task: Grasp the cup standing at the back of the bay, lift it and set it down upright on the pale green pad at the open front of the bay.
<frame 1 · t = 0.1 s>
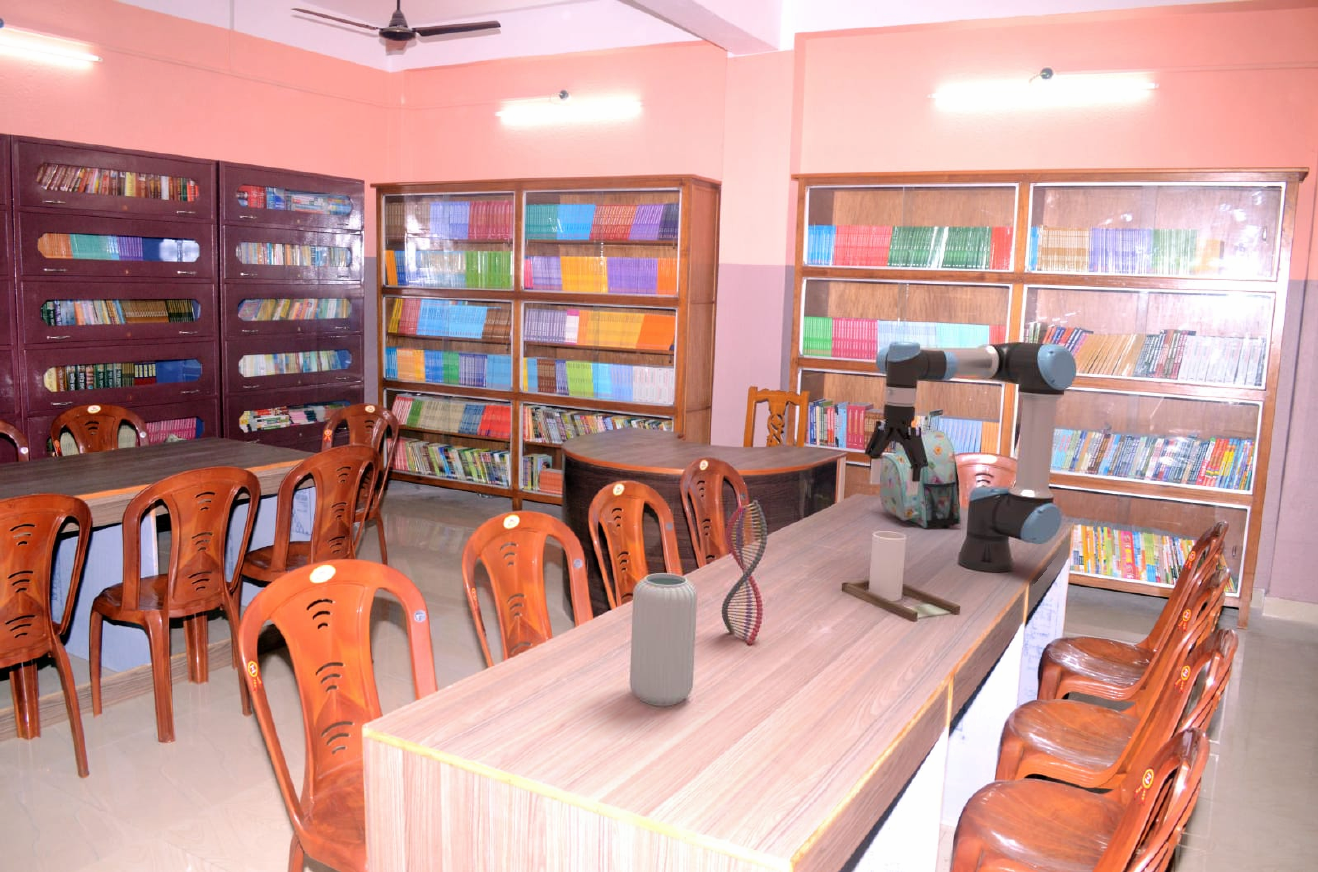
hand: (892, 489, 241), 28 cm above the table, fingers open, 13 cm apart
dna model: (740, 639, 209), on the table
vase: (660, 698, 176), on the table
backpack: (915, 522, 335), on the table
bay: (898, 601, 240), on the table
winch drum: (893, 585, 255), on the table
cup: (884, 596, 245), resting in bay
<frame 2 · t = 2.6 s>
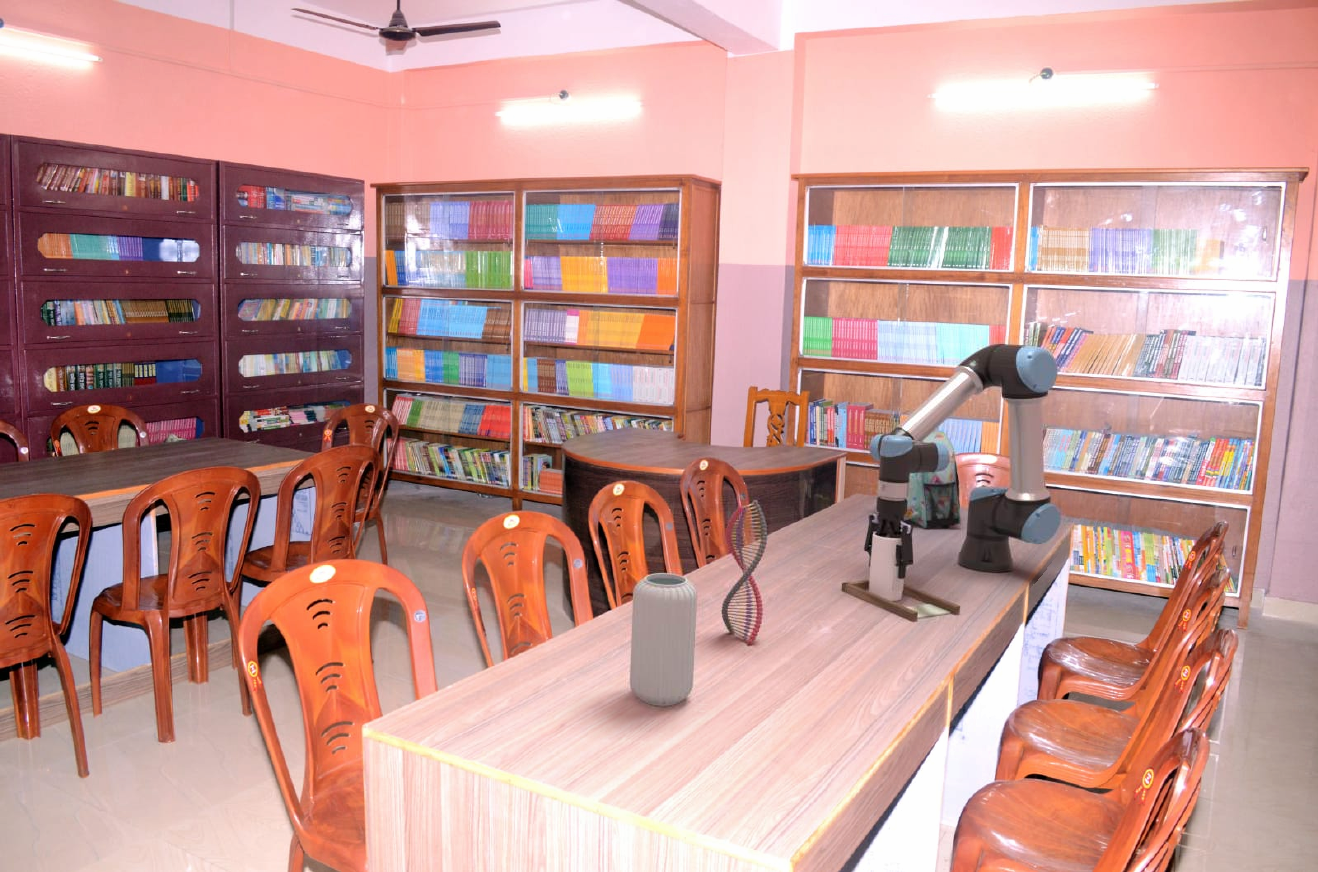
hand: (885, 585, 244), 3 cm above the table, fingers closed on cup, 8 cm apart
cup: (884, 596, 245), resting in bay, touching gripper
everything else where it was.
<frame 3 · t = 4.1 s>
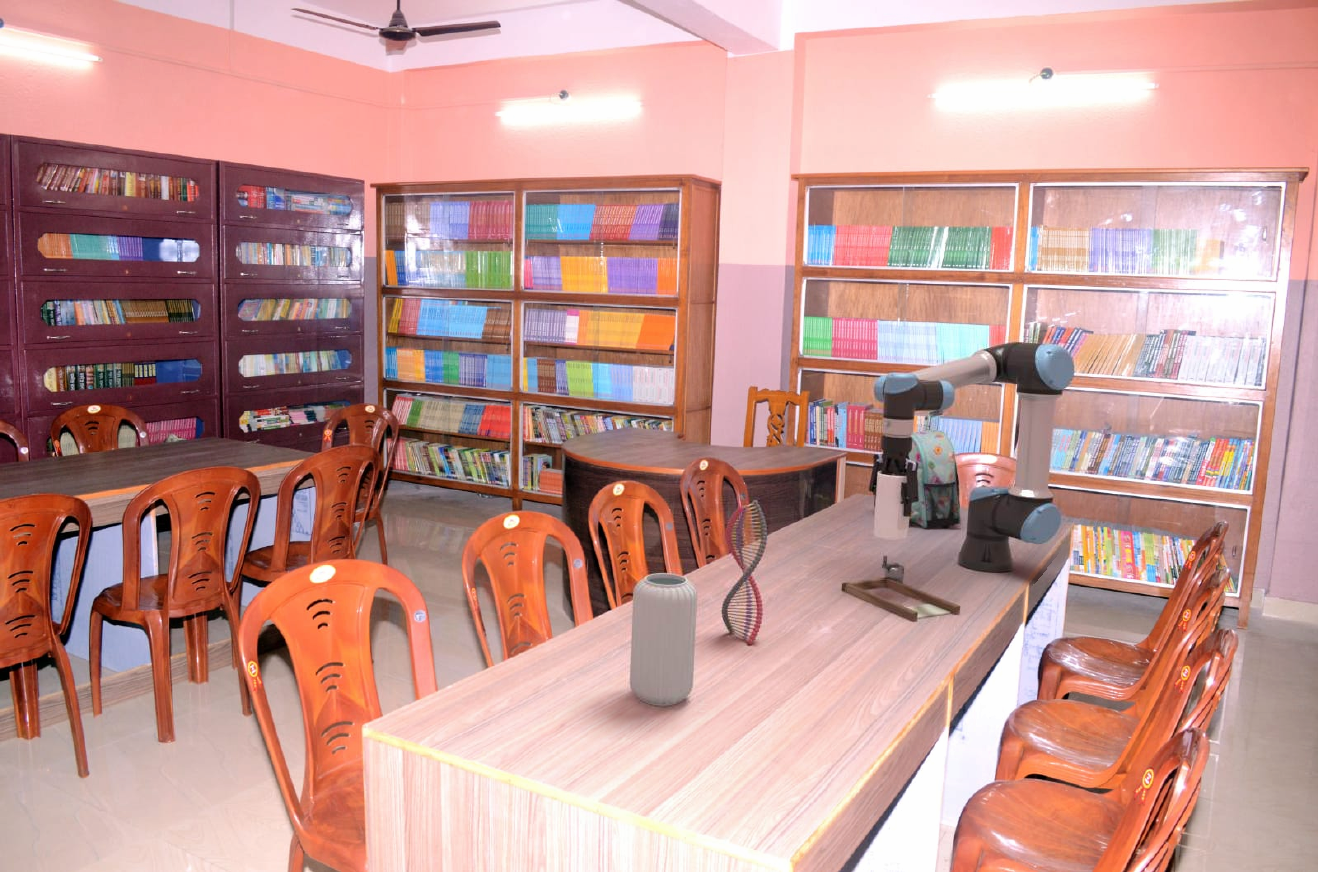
hand: (891, 524, 242), 18 cm above the table, fingers closed on cup, 8 cm apart
cup: (890, 536, 243), point 15 cm above the table, touching gripper
everything else where it was.
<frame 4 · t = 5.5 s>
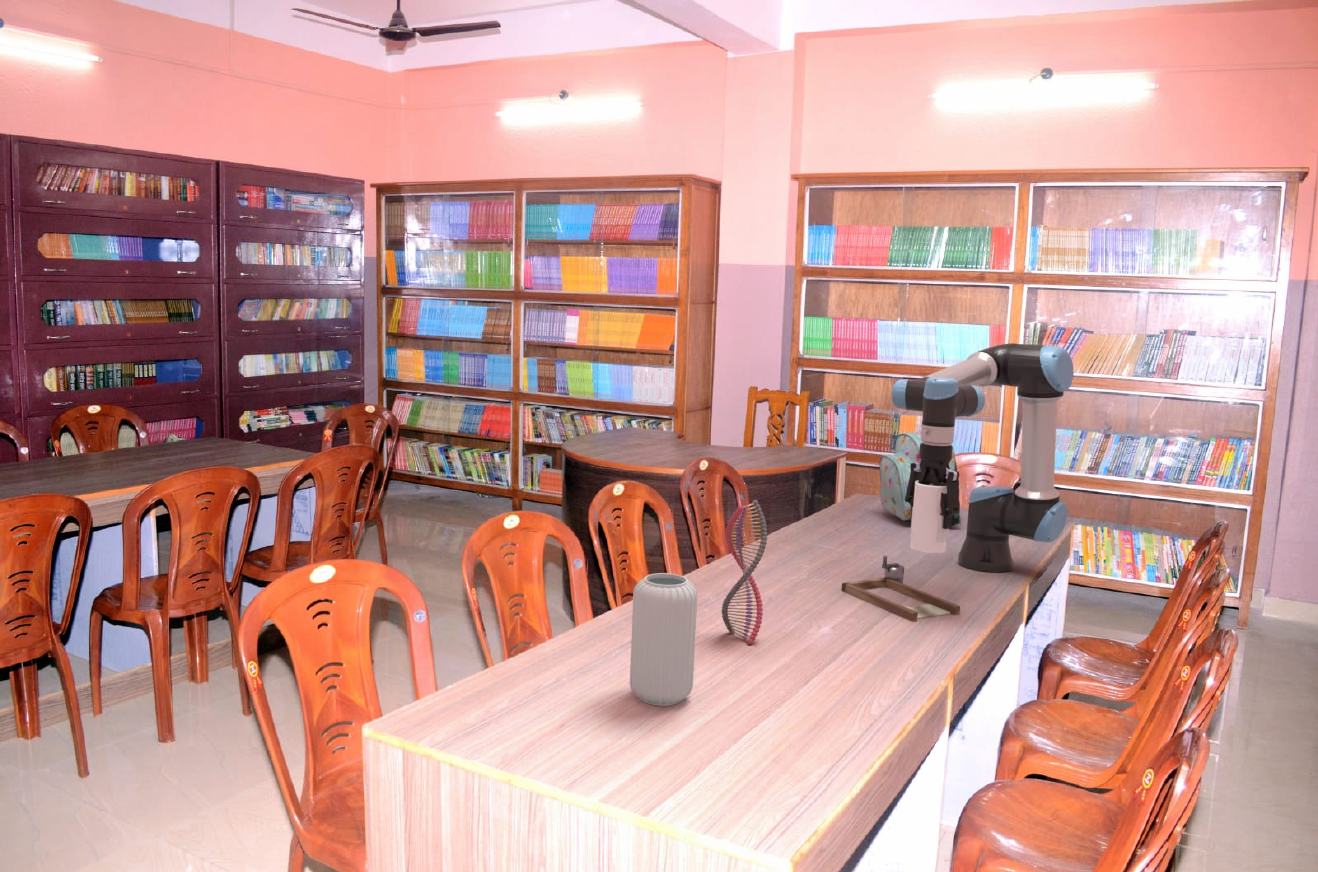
hand: (928, 537, 231), 18 cm above the table, fingers closed on cup, 8 cm apart
cup: (927, 549, 231), point 15 cm above the table, touching gripper
everything else where it was.
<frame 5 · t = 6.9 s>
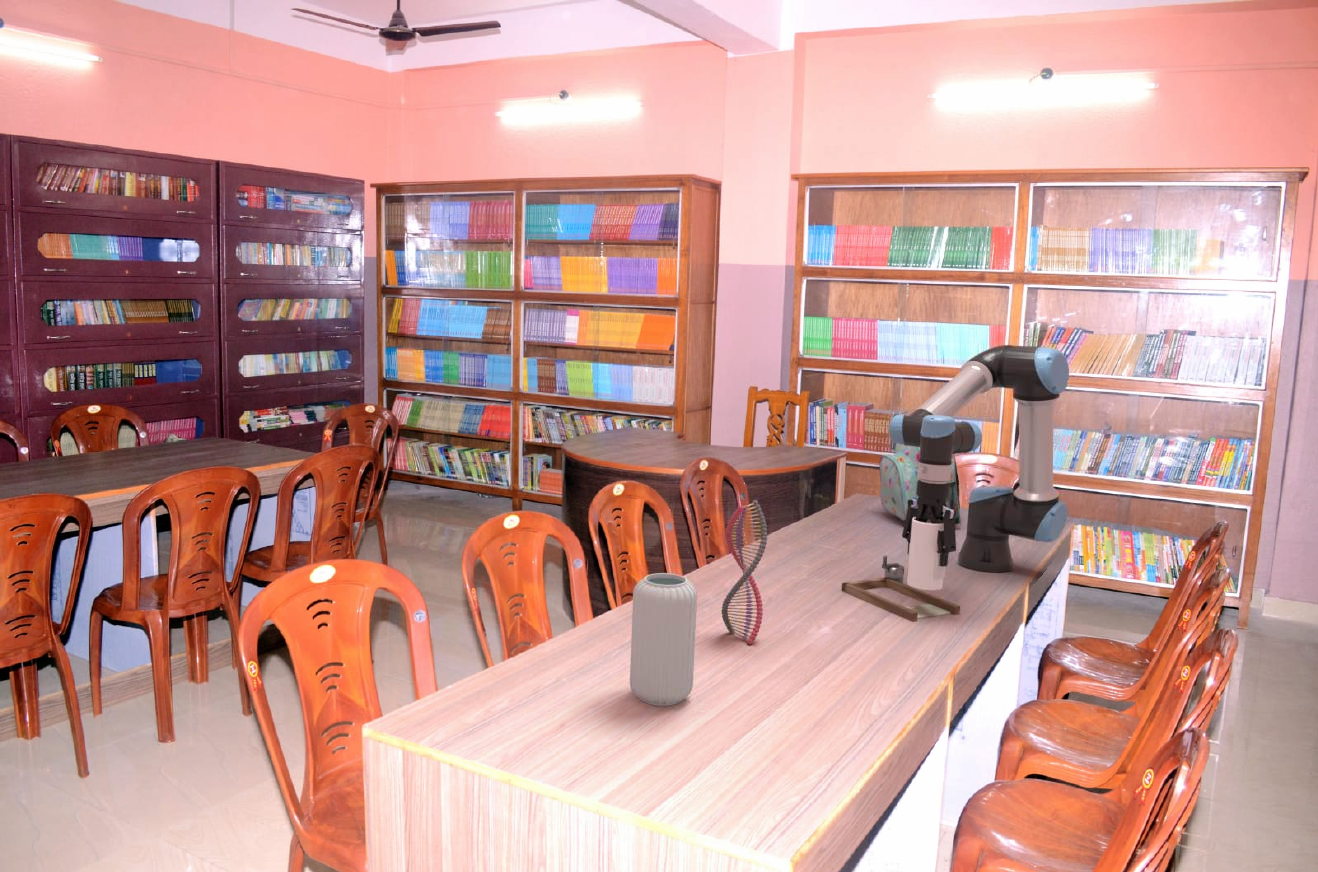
hand: (925, 573, 232), 10 cm above the table, fingers closed on cup, 8 cm apart
cup: (924, 586, 232), point 7 cm above the table, touching gripper
everything else where it was.
when the fingers open (5 cm above the table, at t = 8.2 s): cup drops 2 cm, resting on bay.
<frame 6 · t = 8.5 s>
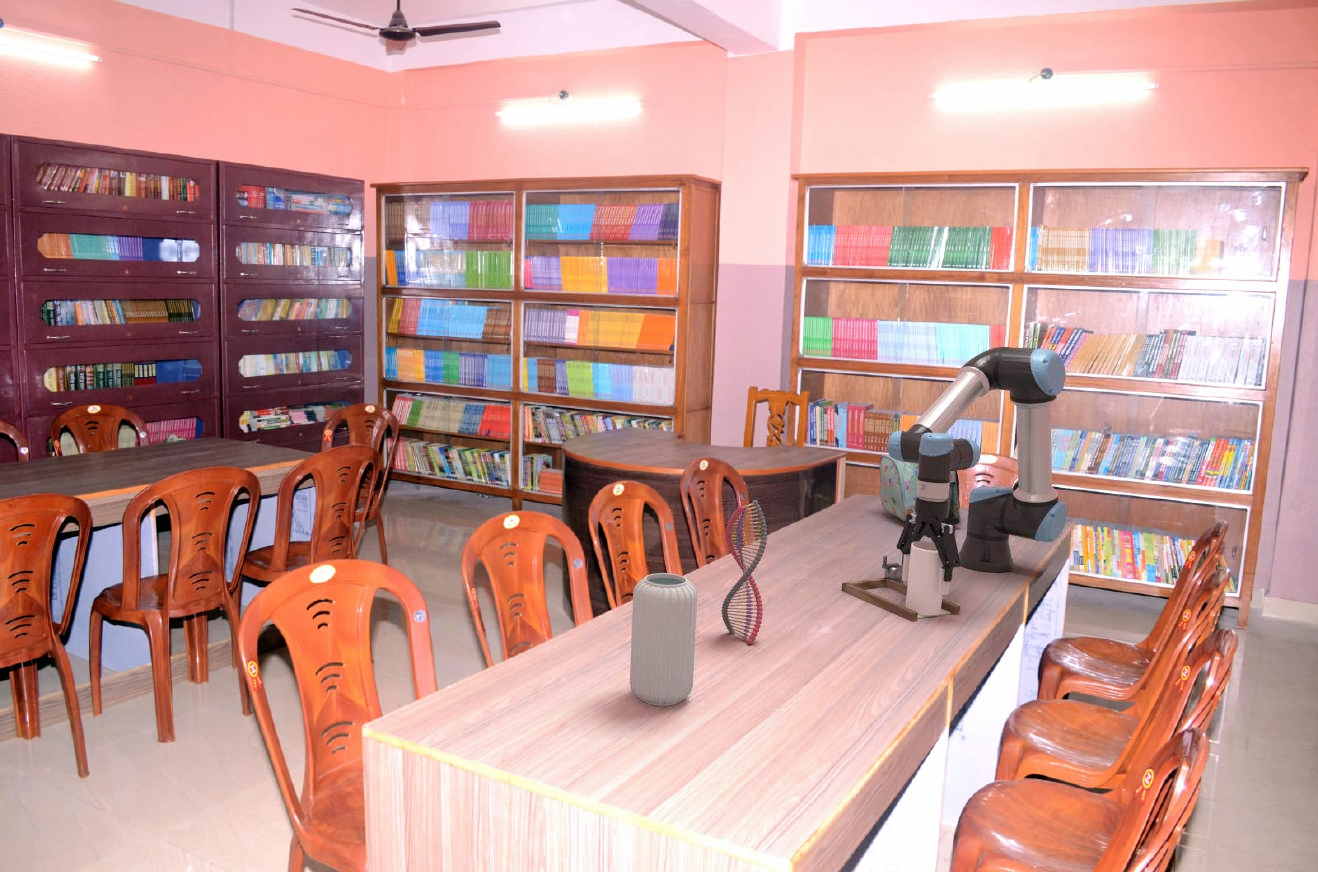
hand: (924, 587, 232), 6 cm above the table, fingers open, 11 cm apart
cup: (922, 610, 233), resting on bay
everything else where it was.
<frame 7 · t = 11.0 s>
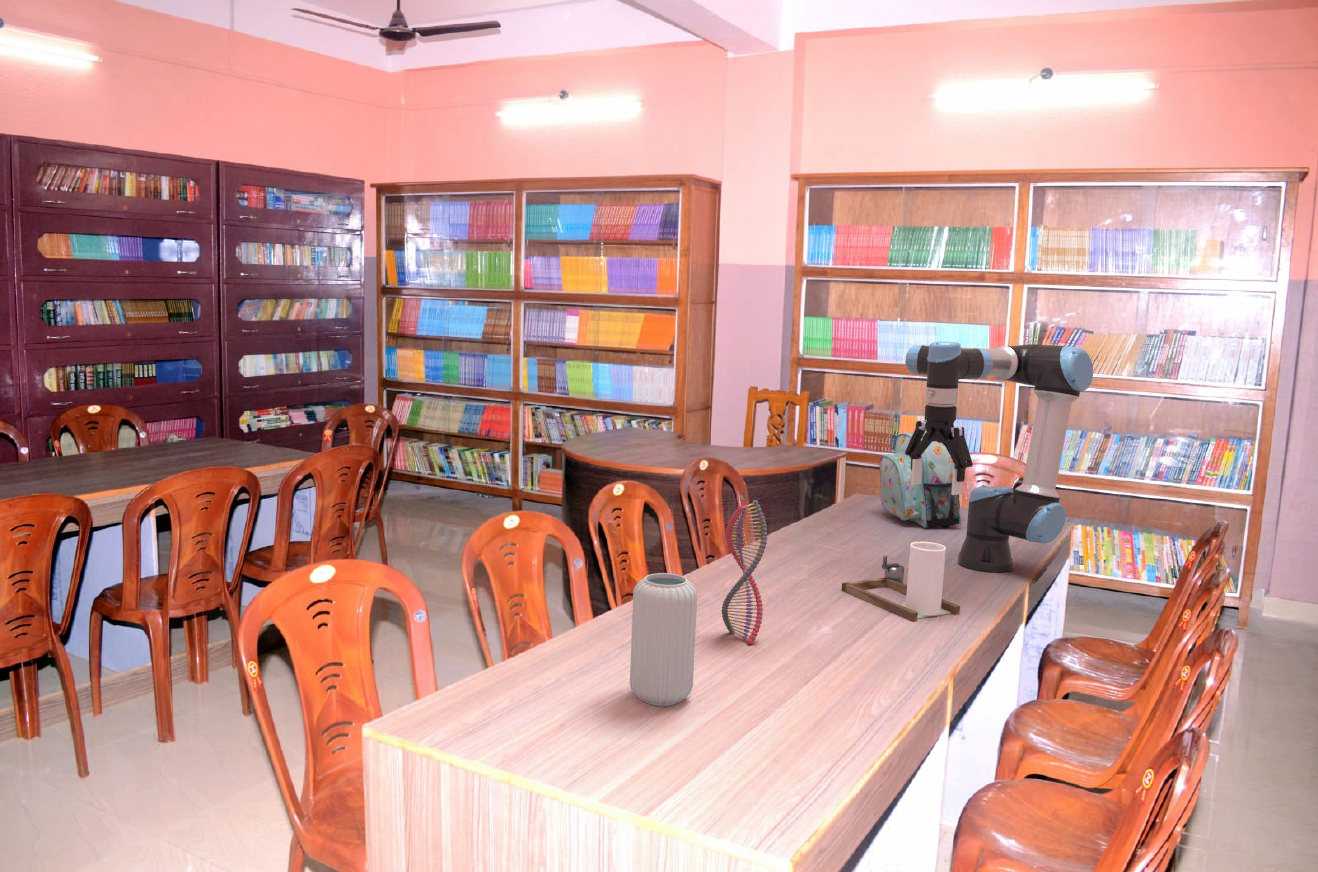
hand: (935, 489, 241), 28 cm above the table, fingers open, 13 cm apart
nothing on the table moved.
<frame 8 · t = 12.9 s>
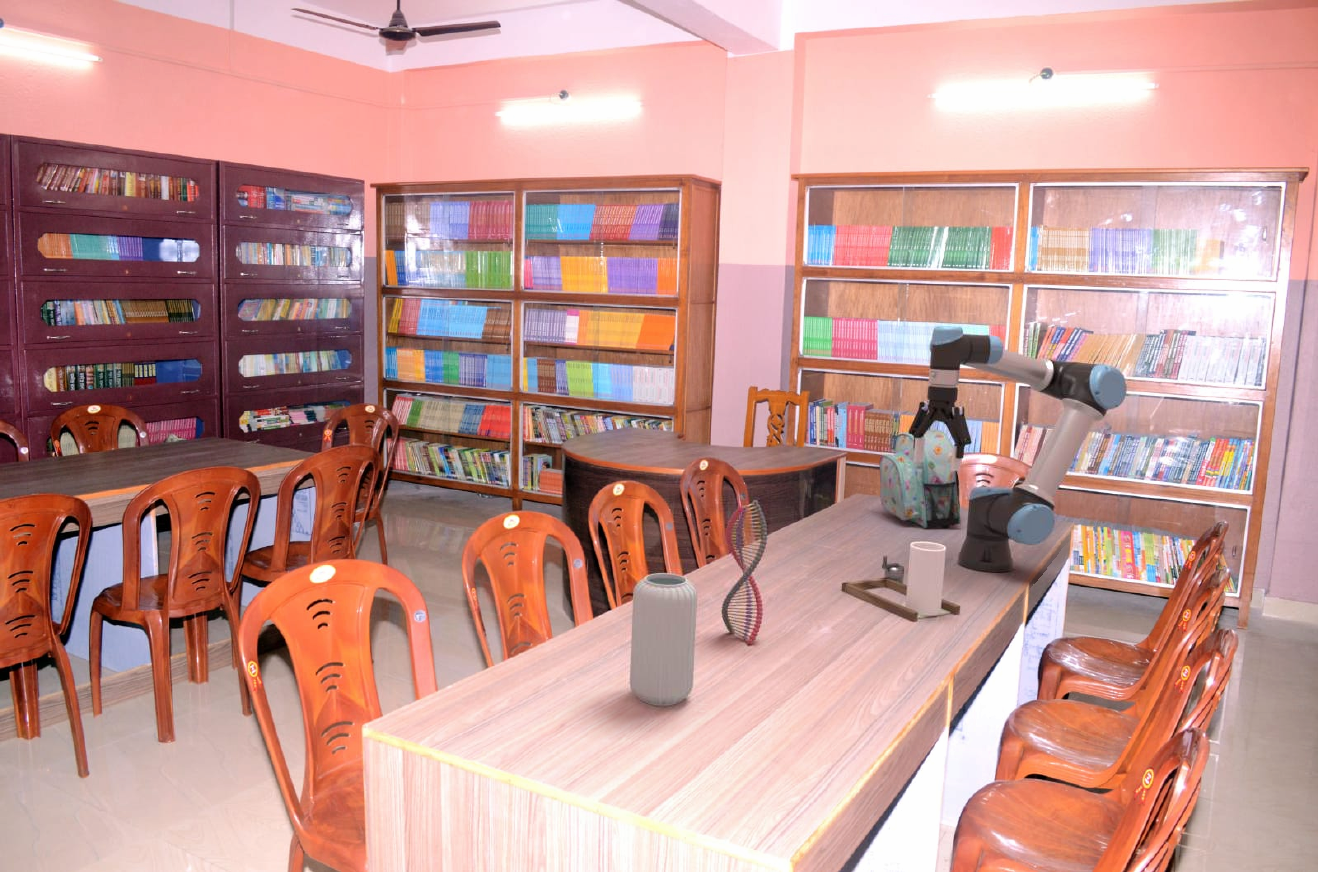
hand: (936, 466, 254), 32 cm above the table, fingers open, 13 cm apart
nothing on the table moved.
at the end: cup inside the target area on the bay (0.0 cm from its centre), point 0.2 cm above the bay's base; cup tilted 0°; the gripper is holding nothing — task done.
